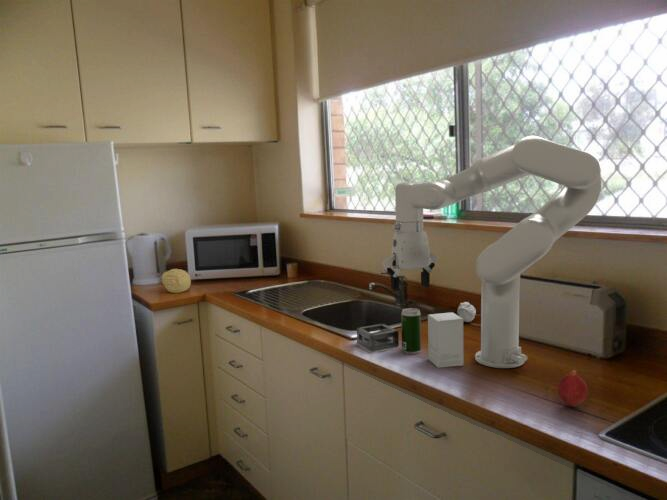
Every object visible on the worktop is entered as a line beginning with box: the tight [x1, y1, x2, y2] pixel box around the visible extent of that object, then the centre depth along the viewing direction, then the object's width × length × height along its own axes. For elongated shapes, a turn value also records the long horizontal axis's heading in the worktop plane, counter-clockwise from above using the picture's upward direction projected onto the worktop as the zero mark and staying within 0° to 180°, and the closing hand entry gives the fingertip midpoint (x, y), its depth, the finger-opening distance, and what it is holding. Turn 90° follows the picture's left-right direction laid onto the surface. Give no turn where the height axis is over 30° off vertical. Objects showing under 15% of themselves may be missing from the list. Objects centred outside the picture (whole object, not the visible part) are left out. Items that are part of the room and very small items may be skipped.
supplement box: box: [427, 311, 465, 369], centre depth 141 cm, size 7×7×13 cm
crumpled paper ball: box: [456, 301, 477, 323], centre depth 178 cm, size 6×7×7 cm
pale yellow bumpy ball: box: [161, 268, 192, 294], centre depth 244 cm, size 12×12×11 cm
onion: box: [557, 370, 589, 408], centre depth 112 cm, size 6×6×8 cm
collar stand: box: [355, 323, 401, 354], centre depth 157 cm, size 10×10×5 cm
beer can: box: [400, 307, 422, 355], centre depth 150 cm, size 5×5×12 cm
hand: (410, 288), depth 149 cm, fingers open, 9 cm apart
